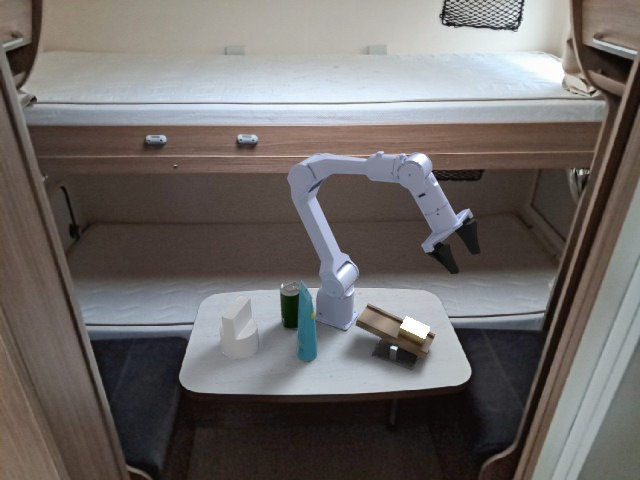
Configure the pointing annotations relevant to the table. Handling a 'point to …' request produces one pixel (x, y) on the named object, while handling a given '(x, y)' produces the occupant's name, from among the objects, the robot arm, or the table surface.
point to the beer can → (289, 304)
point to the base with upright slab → (239, 330)
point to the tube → (306, 326)
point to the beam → (390, 329)
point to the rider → (413, 331)
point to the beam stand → (394, 354)
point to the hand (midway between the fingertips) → (466, 263)
